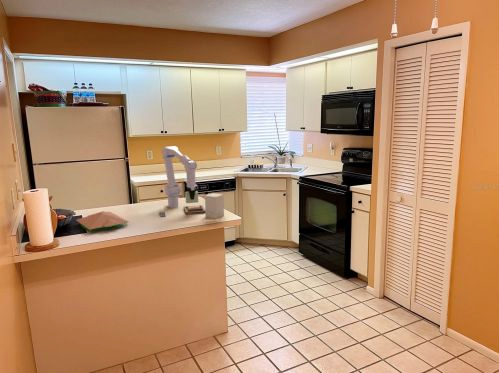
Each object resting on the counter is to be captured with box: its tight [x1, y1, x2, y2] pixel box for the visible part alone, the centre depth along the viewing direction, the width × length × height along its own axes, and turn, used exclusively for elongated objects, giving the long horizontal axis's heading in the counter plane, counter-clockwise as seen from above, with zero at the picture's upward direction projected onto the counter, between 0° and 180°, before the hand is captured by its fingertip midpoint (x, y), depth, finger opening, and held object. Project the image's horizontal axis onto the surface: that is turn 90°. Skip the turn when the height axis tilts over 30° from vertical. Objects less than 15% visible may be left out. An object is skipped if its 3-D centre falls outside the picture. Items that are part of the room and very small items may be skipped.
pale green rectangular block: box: [184, 190, 199, 204], centre depth 249 cm, size 4×8×7 cm, turn 106°
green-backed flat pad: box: [76, 211, 129, 233], centre depth 226 cm, size 23×33×8 cm
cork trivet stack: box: [187, 205, 201, 209], centre depth 258 cm, size 5×9×2 cm, turn 106°
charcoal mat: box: [158, 211, 166, 218], centre depth 250 cm, size 10×14×1 cm
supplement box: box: [204, 192, 225, 220], centre depth 241 cm, size 9×9×15 cm
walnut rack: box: [183, 204, 206, 216], centre depth 255 cm, size 17×13×2 cm
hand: (191, 198), depth 249 cm, fingers closed on pale green rectangular block, 4 cm apart
